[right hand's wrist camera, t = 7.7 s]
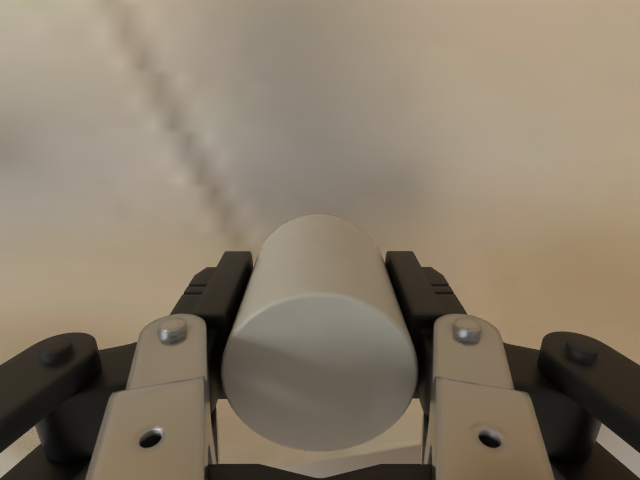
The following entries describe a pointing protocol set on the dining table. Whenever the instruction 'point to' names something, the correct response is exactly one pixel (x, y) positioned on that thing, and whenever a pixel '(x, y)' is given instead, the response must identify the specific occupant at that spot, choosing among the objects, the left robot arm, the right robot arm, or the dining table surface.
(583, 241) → the dining table surface
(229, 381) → the can
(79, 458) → the right robot arm
